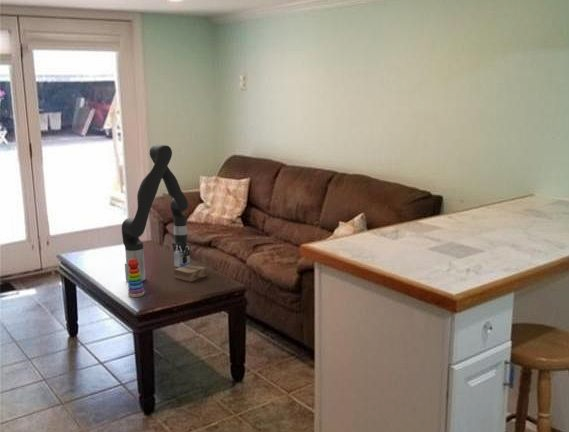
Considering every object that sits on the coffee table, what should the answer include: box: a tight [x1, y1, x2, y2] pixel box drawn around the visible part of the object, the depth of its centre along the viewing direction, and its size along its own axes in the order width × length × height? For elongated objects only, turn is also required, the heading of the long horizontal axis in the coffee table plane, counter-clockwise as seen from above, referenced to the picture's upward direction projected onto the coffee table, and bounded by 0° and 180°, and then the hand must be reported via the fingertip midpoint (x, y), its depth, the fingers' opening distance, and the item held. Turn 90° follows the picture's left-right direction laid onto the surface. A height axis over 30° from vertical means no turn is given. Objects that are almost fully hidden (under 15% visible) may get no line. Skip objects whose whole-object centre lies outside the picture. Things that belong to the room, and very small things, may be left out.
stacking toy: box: [127, 258, 145, 298], centre depth 296 cm, size 8×8×19 cm
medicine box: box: [173, 250, 191, 268], centre depth 343 cm, size 8×4×9 cm, turn 143°
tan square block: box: [173, 263, 207, 283], centre depth 325 cm, size 12×12×5 cm
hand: (181, 262), depth 343 cm, fingers closed on medicine box, 4 cm apart
